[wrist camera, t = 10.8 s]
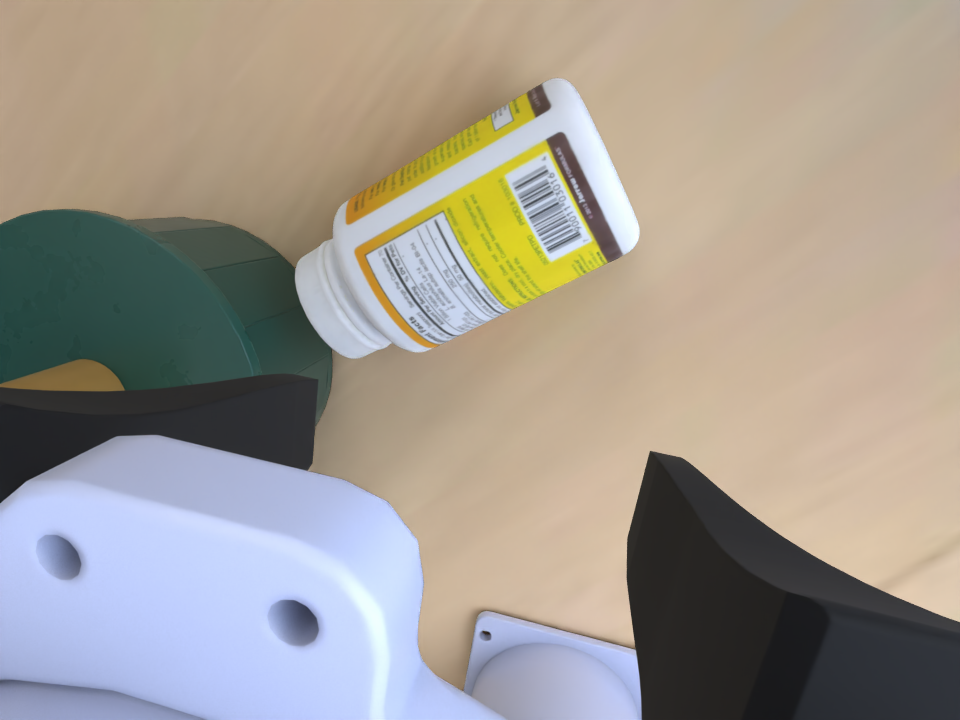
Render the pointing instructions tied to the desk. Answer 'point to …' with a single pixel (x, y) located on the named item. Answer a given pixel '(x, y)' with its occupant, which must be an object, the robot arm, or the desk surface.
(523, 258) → the supplement bottle
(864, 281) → the desk surface
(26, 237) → the lid
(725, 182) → the desk surface
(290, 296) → the tin
